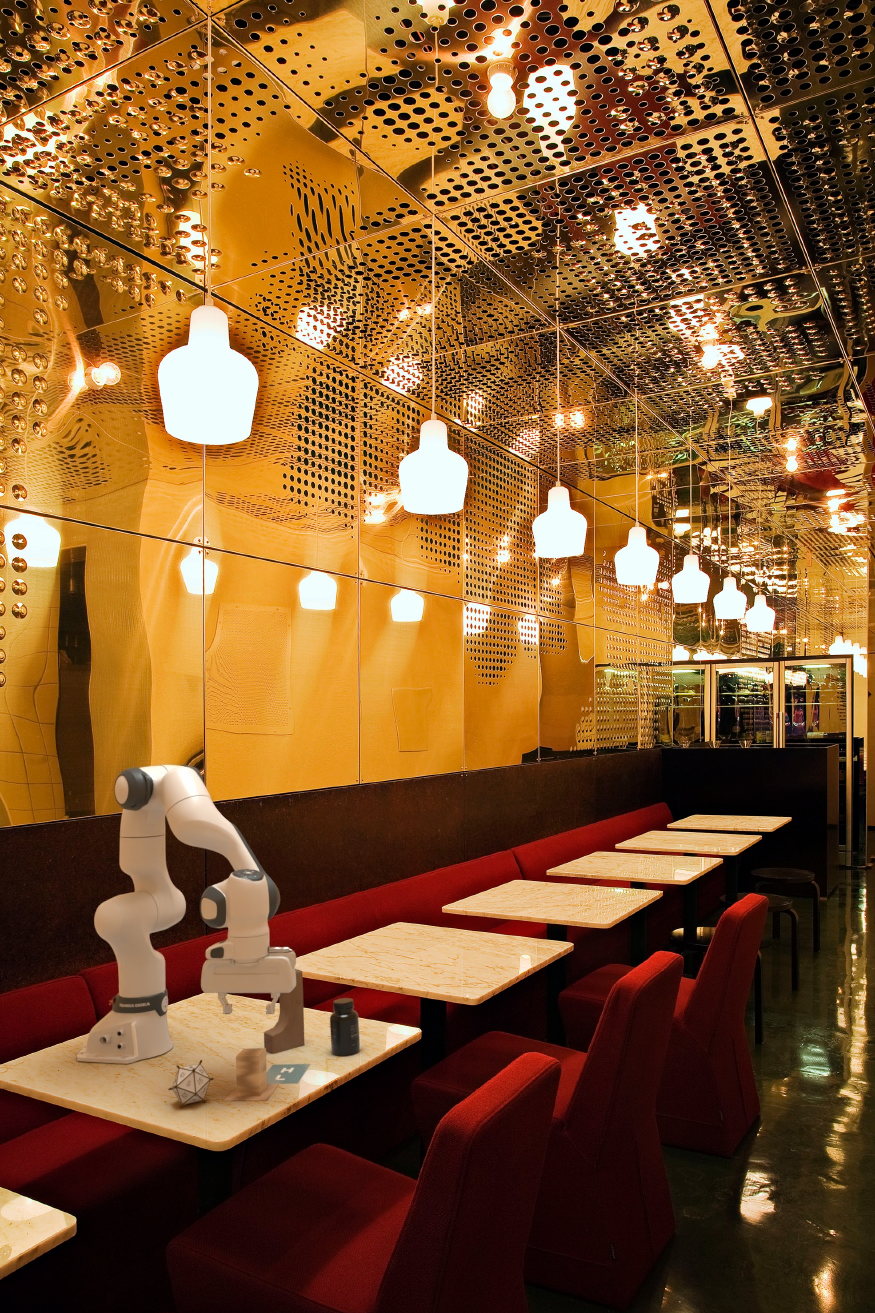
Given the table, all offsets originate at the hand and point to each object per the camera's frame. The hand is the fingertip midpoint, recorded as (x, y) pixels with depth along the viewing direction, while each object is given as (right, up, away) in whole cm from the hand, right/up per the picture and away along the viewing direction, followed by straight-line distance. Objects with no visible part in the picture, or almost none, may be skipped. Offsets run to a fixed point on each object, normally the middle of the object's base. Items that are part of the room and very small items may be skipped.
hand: (249, 1013), depth 186 cm
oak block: (+1, -16, -2) cm, 16 cm away
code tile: (+6, -17, +8) cm, 20 cm away
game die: (-11, -17, -6) cm, 21 cm away
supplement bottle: (+18, -18, +21) cm, 34 cm away
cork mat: (+1, -16, -2) cm, 16 cm away
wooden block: (+3, -20, +27) cm, 33 cm away
